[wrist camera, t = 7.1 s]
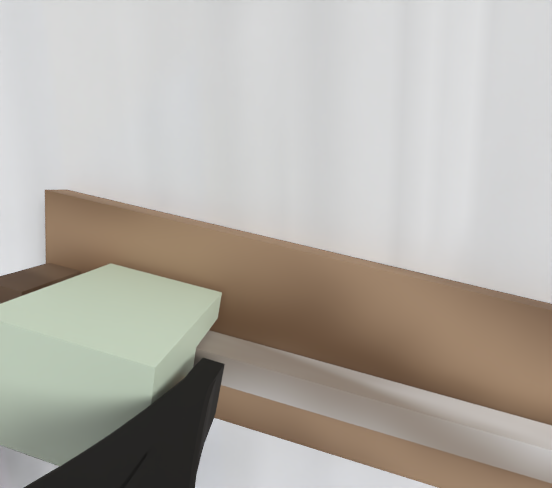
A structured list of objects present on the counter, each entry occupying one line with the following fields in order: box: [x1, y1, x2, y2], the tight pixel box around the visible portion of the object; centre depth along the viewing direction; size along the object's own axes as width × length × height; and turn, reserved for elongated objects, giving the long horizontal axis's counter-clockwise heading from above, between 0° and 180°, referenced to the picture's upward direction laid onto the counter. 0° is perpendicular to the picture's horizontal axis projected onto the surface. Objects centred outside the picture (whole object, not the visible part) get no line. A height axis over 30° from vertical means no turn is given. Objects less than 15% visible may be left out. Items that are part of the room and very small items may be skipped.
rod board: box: [0, 190, 552, 488], centre depth 10 cm, size 9×28×4 cm, turn 78°
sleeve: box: [0, 264, 222, 466], centre depth 9 cm, size 4×5×4 cm
